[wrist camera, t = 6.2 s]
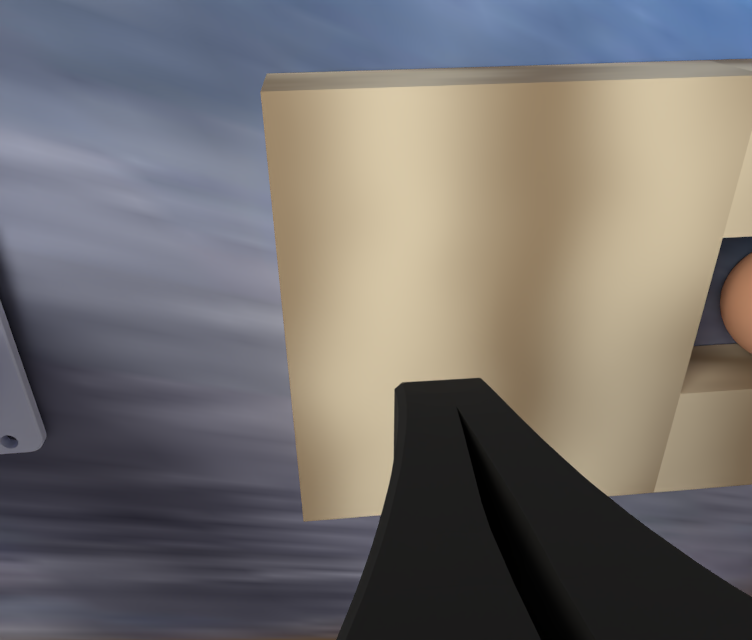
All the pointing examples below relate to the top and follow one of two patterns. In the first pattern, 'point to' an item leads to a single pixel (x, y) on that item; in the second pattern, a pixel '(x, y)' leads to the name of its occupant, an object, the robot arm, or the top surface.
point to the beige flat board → (513, 262)
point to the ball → (738, 303)
